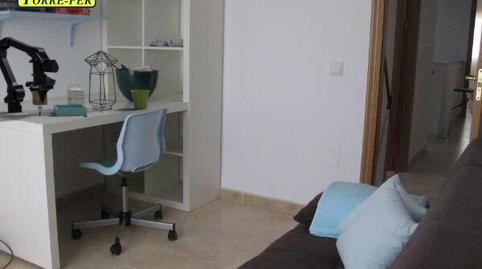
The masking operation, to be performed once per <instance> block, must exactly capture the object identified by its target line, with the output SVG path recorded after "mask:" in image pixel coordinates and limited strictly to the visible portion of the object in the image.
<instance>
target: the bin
mask: <svg viewBox="0 0 482 269" xmlns="http://www.w3.org/2000/svg"><path fill="white" fill-rule="evenodd" d="M53 113H54V114H55V115H56V116H57V117H71V116H72V117H74V116H83V118H87V117H88V108H87V107H86V106H85V104H84V105H82V104H71V105H68V104H53Z"/></svg>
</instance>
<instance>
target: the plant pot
mask: <svg viewBox="0 0 482 269" xmlns="http://www.w3.org/2000/svg"><path fill="white" fill-rule="evenodd" d="M130 92H131V97H132V100H133V107H134V109H135V110H145V109H147V106H148V100H149V94H150V90H148V89H132V90H130Z"/></svg>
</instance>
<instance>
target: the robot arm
mask: <svg viewBox="0 0 482 269" xmlns="http://www.w3.org/2000/svg"><path fill="white" fill-rule="evenodd" d="M10 48H13V49H16V50H19V51H22V52H23V53H26V55H27V56H29V57H30V58H31V59H30V60H28V63H29V64H32V73H30V76H32V81H31V80H30V81H29V80H28V81H26V82H25V83H24V84H25V87H26V88H28V89H29V91H30V92H31V94H32V91H38V93H39V96H40V99H41V102H44V100H45V97H46V94H47V95H48V92H50V91H51V90H54V87H55V85H56V83H57V81H56V79H54V78H52V77H50V76H48V74H47V73H52V74H53V73H54V74H57V73H58V72H59V70H60V65H59V64H58V62H57V60H56V59H51V58H50V56H49V55H48V53H47V52H46V49H45V48H44V47H40V46H36V45H30V44H27V43H25V42H22V41H20V40H18V39H15V38H14V37H11V36H5V37H3V38H1V39H0V71H1V74H2V76H3V79H4V81H5V83H6V94H7V95H6V96H5V97H4V98H3V103H4V104H7V114H18V113H23V106H22V104H21V103H23V102H24V99H25V97H26V90H25V89H24V88H25V87H24V85H23V84H19V83H18V82H17V79H16V77H15V75H14V73H13V70H12V68H11V65H10V63H9V60H8V58H7V56H8V50H9V49H10Z"/></svg>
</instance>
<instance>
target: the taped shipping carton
mask: <svg viewBox="0 0 482 269" xmlns="http://www.w3.org/2000/svg"><path fill="white" fill-rule="evenodd" d="M31 99H32V106H33V105H34V106H48V93H47V94H46V97H45V100H44V102H41V99H40V96H39V93H38V91H32V93H31Z"/></svg>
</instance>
